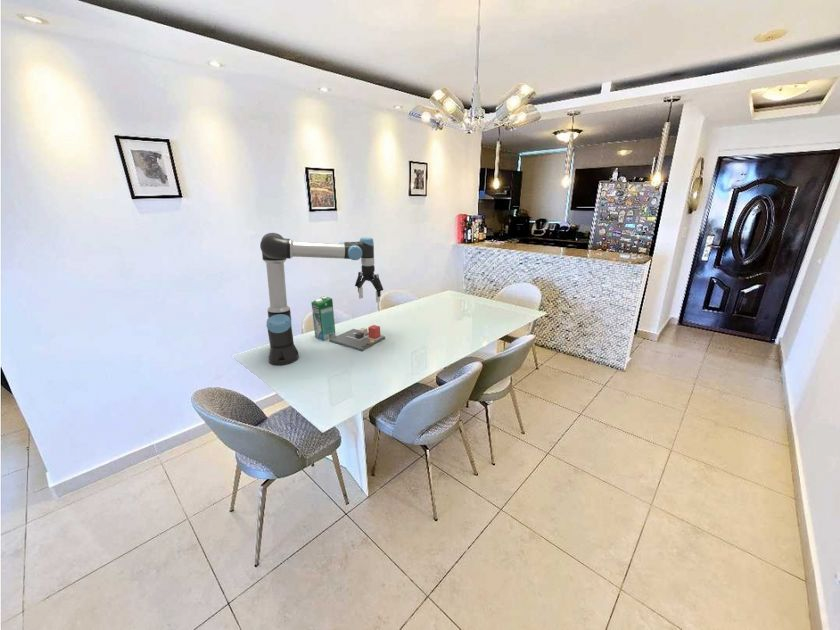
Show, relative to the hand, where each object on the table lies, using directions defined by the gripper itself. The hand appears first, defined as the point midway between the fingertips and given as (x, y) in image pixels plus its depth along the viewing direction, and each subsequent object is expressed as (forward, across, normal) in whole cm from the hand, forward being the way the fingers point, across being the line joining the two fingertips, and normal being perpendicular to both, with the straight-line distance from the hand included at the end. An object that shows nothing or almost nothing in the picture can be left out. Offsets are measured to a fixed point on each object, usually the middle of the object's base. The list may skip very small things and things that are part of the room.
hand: (369, 300), depth 204 cm
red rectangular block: (+22, +5, -2) cm, 23 cm away
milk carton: (+24, -23, -16) cm, 37 cm away
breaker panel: (+24, -3, -9) cm, 25 cm away
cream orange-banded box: (+22, -4, -3) cm, 23 cm away
